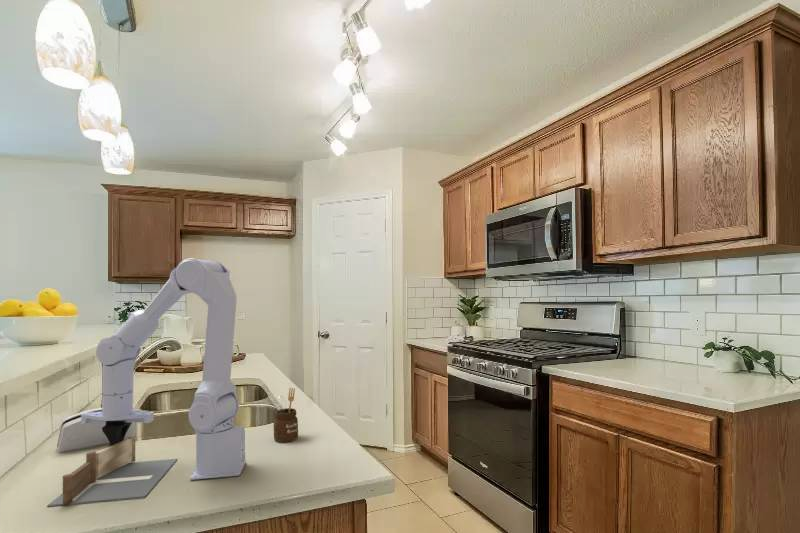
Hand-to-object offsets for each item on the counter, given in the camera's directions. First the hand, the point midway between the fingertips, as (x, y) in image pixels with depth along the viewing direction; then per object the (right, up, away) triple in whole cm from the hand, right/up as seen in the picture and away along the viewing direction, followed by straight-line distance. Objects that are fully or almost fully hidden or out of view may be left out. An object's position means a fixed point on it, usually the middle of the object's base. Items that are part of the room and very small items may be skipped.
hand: (116, 456), depth 100 cm
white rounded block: (-15, -4, +17) cm, 23 cm away
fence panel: (+1, -2, -2) cm, 3 cm away
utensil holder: (+32, -3, +16) cm, 36 cm away
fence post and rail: (+1, -2, -12) cm, 13 cm away
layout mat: (+5, -2, -7) cm, 9 cm away
